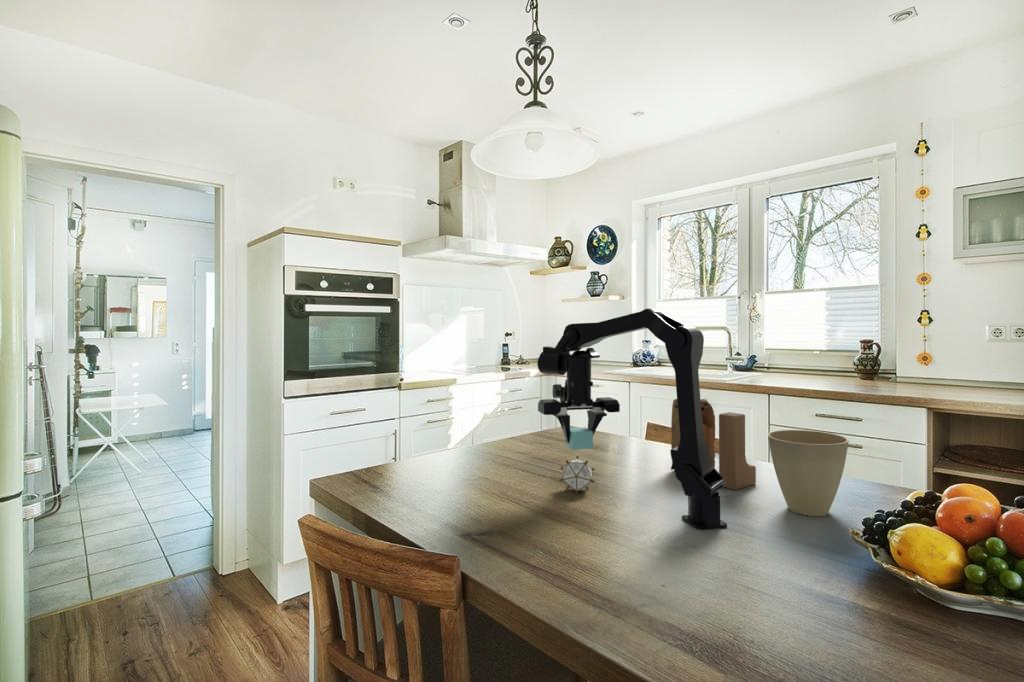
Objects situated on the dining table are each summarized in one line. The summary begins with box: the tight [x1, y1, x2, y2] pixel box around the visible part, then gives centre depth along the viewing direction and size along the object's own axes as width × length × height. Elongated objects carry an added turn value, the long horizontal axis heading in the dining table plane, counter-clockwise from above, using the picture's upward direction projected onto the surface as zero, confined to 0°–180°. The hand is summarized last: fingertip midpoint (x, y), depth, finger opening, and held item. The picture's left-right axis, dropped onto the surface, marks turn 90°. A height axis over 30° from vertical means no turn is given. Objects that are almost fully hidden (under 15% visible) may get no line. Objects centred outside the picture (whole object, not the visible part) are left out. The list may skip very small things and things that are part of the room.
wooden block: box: [718, 411, 757, 491], centre depth 127 cm, size 9×4×18 cm, turn 123°
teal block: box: [565, 426, 594, 450], centre depth 121 cm, size 5×5×4 cm
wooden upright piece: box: [670, 398, 716, 469], centre depth 139 cm, size 11×8×20 cm
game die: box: [558, 455, 595, 495], centre depth 124 cm, size 9×8×10 cm
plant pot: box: [767, 429, 849, 517], centre depth 109 cm, size 15×15×16 cm
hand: (578, 441), depth 122 cm, fingers closed on teal block, 5 cm apart
